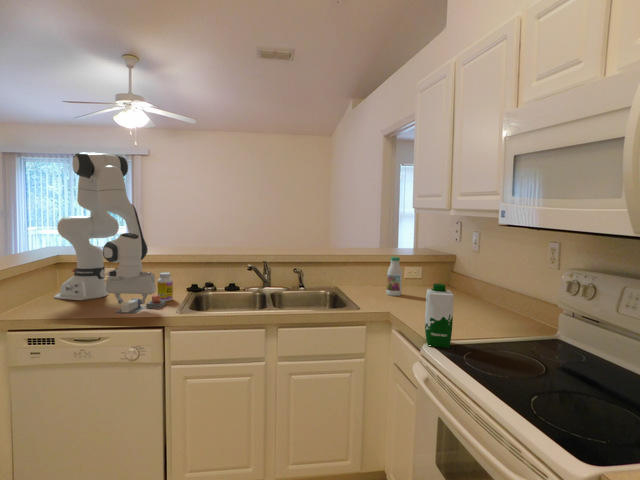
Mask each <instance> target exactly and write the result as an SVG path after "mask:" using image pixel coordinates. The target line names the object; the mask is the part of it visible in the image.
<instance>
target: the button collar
mask: <svg viewBox="0 0 640 480" xmlns="http://www.w3.org/2000/svg"><path fill="white" fill-rule="evenodd" d="M145 303H146V305H145V306H146V307H145V308H146V309H161V308H163V307H165V306H166V305H167V301H161V300H160V303H152V300H150V301H148V302H145Z"/></svg>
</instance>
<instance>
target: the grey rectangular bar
mask: <svg viewBox="0 0 640 480" xmlns="http://www.w3.org/2000/svg"><path fill="white" fill-rule="evenodd" d="M140 300H141V298H132V299H130V300H128V301H125V302H123V303H122V304H121V309H122V312H130V311H132V310H134V309H136V308H138V307H140V306H141V304H140Z"/></svg>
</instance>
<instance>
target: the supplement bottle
mask: <svg viewBox="0 0 640 480" xmlns="http://www.w3.org/2000/svg"><path fill="white" fill-rule="evenodd" d="M173 284H174V283H173V278H171V272H160V273H159V278H158V279H157V295H160V300H161V301H166V302H169V301H172V300H173V299H174V297H173V296H174V295H173V291H174V290H173V289H174V287H173Z"/></svg>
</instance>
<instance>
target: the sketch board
mask: <svg viewBox="0 0 640 480" xmlns="http://www.w3.org/2000/svg"><path fill="white" fill-rule="evenodd" d="M145 308H146V305H140V307H138V308H136V309H134V310H132V311H130V312H122V308H121V309H119V310H117V311H115V313H116V314H136V313H137V312H139V311H141V310H143V309H145Z"/></svg>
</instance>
